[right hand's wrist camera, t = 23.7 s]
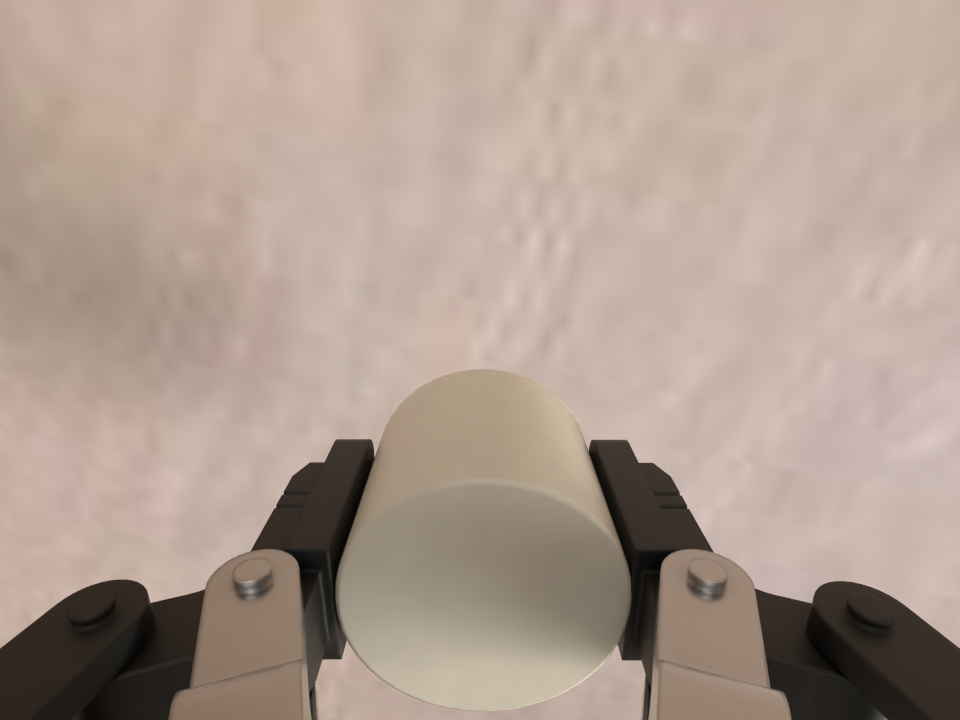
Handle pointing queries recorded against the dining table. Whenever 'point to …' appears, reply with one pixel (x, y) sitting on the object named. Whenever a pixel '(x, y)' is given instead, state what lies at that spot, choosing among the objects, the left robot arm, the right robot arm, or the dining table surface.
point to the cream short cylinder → (483, 549)
